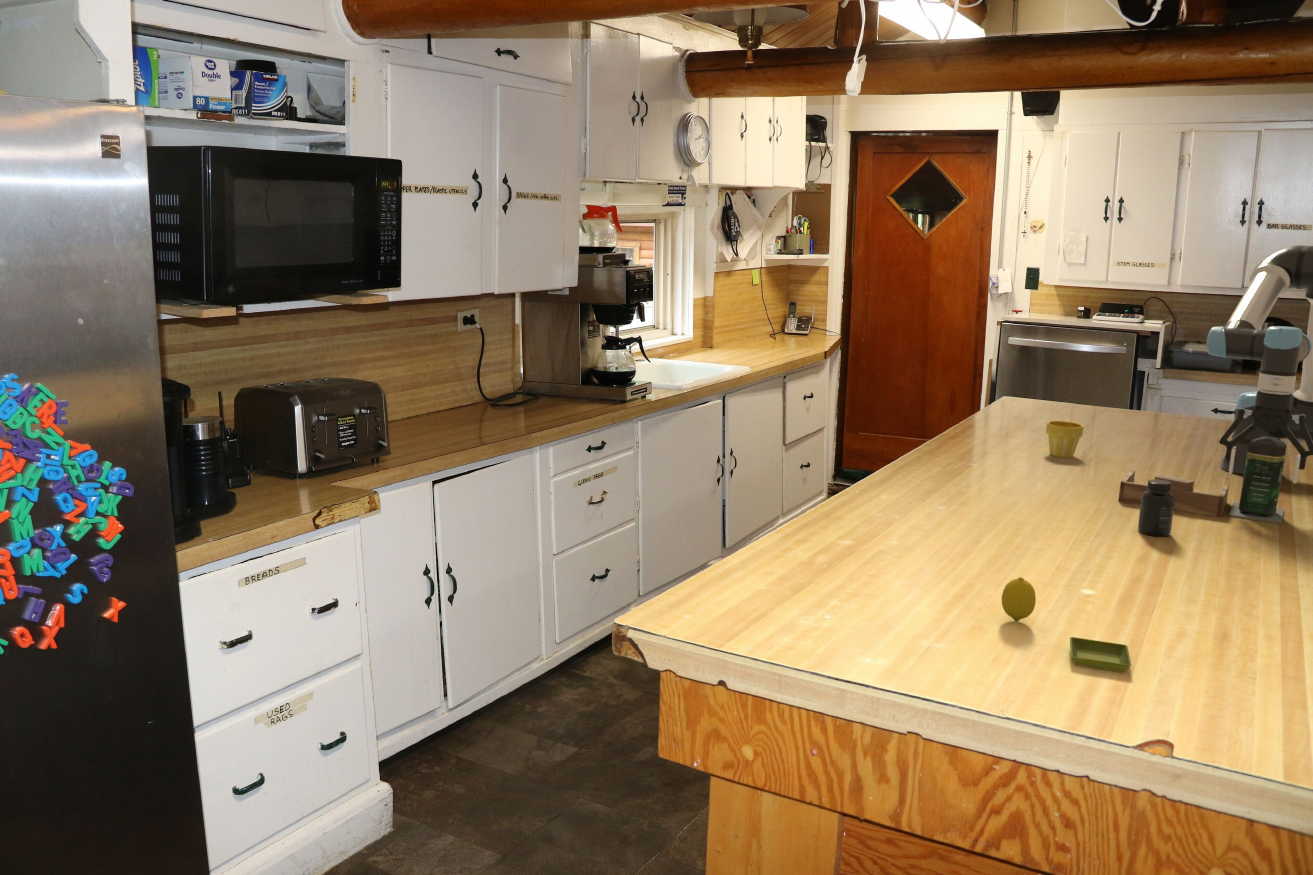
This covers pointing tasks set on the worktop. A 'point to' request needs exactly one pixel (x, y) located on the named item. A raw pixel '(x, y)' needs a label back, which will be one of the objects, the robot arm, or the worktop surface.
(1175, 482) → the offcut top
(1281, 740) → the worktop surface
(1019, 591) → the lemon
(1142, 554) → the worktop surface
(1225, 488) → the wooden open enclosure
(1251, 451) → the coffee jar
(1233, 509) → the mat
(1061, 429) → the plant pot
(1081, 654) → the green tray
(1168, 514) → the supplement bottle
